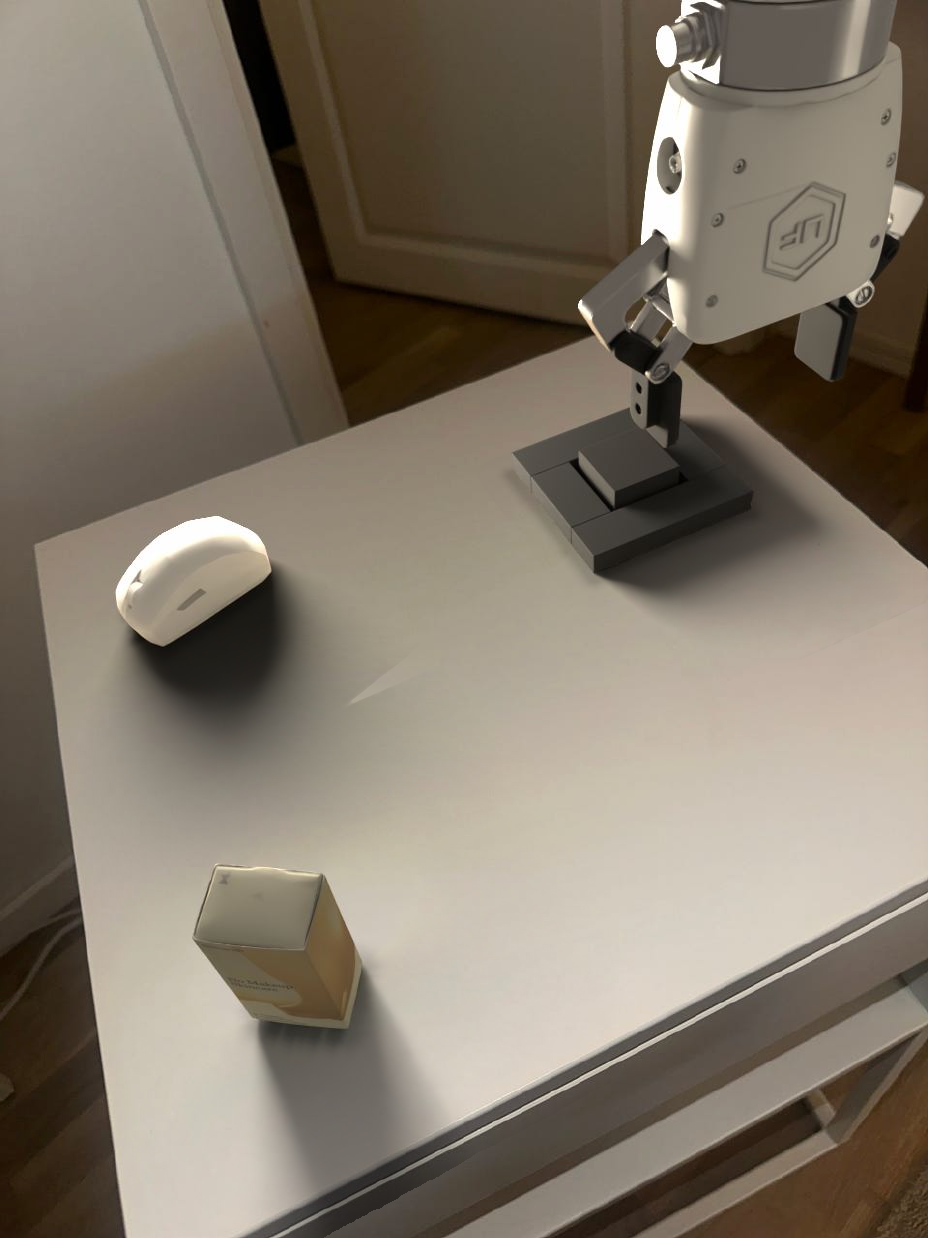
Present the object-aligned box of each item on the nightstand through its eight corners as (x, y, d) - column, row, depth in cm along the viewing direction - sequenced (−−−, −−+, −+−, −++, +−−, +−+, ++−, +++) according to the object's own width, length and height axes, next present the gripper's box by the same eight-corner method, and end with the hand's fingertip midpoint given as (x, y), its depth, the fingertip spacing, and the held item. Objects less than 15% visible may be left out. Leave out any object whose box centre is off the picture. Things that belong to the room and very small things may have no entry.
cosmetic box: (250, 1020, 57) (182, 940, 48) (269, 949, 60) (208, 860, 51) (354, 1032, 56) (305, 952, 47) (368, 959, 59) (325, 870, 50)
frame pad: (656, 413, 90) (657, 396, 88) (751, 508, 81) (754, 490, 79) (512, 469, 87) (511, 452, 86) (594, 574, 78) (593, 556, 76)
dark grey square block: (640, 455, 86) (641, 425, 84) (677, 496, 83) (680, 465, 80) (579, 479, 85) (578, 450, 83) (614, 521, 81) (614, 491, 79)
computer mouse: (117, 616, 81) (86, 564, 76) (243, 534, 86) (222, 480, 81) (155, 657, 77) (125, 606, 72) (285, 569, 82) (265, 515, 77)
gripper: (635, 122, 32) (626, 502, 45) (1046, -9, 35) (928, 380, 48) (533, 56, 37) (552, 417, 50) (904, -55, 40) (831, 311, 53)
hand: (737, 398), depth 49 cm, fingers open, 9 cm apart
